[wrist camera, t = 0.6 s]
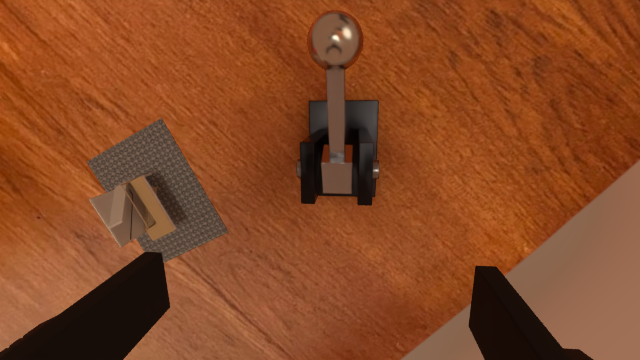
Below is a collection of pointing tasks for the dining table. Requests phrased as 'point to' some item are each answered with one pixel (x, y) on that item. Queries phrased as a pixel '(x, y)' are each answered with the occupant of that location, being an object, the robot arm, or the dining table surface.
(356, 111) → the bracket
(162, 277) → the robot arm
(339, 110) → the lever
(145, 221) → the architectural model
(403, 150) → the dining table surface
